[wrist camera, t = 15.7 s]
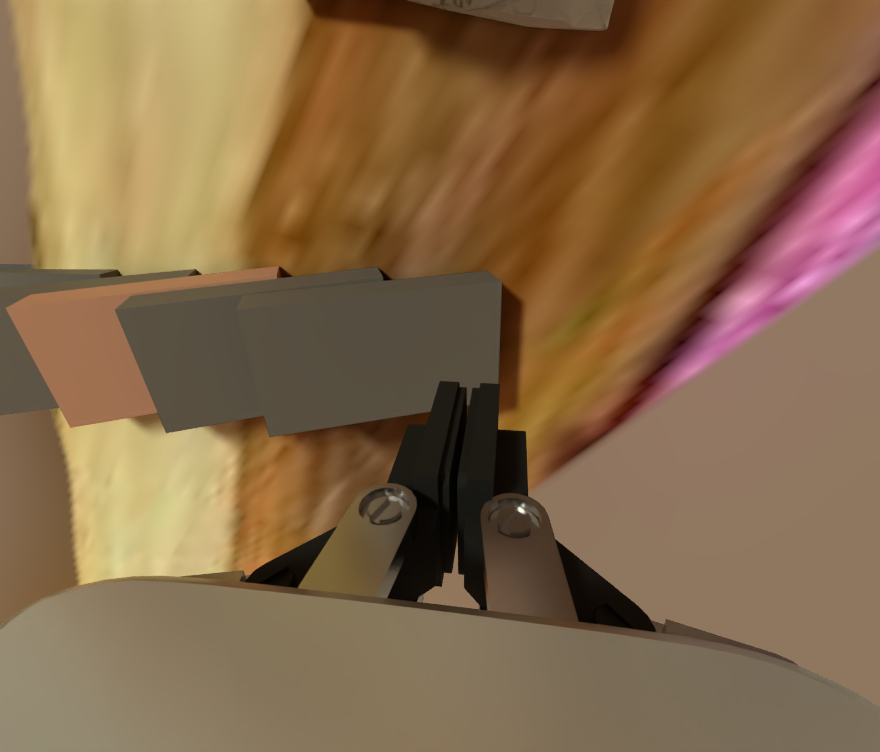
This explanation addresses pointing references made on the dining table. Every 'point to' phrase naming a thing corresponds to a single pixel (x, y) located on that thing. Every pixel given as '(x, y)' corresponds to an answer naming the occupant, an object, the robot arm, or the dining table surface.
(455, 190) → the dining table surface
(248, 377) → the domino
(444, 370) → the domino
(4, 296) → the domino
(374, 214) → the dining table surface
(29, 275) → the domino
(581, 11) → the packaged product
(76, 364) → the domino
